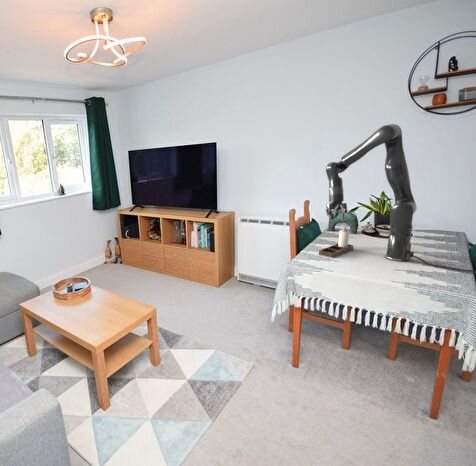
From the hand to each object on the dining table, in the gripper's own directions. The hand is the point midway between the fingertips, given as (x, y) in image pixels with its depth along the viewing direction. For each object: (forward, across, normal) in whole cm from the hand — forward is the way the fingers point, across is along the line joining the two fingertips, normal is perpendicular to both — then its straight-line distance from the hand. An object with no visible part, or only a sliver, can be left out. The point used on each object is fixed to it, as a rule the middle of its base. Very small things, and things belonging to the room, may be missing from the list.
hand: (336, 219), depth 194 cm
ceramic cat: (+10, +38, +28) cm, 48 cm away
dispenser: (+19, +4, 0) cm, 19 cm away
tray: (+20, -3, -1) cm, 20 cm away
